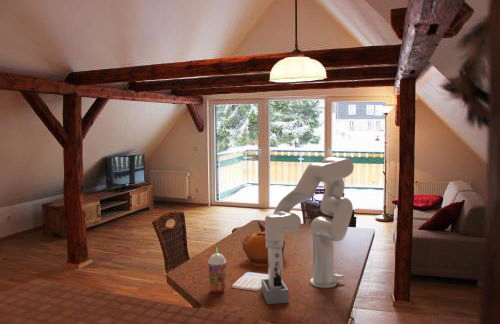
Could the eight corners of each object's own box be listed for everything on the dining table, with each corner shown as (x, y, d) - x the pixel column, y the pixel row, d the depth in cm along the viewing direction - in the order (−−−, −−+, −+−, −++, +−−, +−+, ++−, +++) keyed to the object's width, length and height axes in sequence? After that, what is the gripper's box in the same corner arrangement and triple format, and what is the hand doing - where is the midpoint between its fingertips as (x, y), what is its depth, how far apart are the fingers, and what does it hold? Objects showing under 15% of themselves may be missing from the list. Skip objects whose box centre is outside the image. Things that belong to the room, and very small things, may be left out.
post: (278, 293, 172) (278, 266, 171) (280, 297, 167) (280, 269, 167) (268, 293, 171) (268, 267, 170) (270, 298, 167) (270, 270, 166)
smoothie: (205, 293, 174) (204, 249, 173) (213, 286, 182) (212, 244, 181) (222, 295, 171) (221, 250, 170) (229, 288, 179) (229, 245, 178)
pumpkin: (236, 262, 217) (236, 222, 215) (261, 251, 237) (261, 215, 236) (271, 270, 204) (270, 227, 202) (294, 257, 224) (293, 219, 223)
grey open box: (281, 289, 177) (280, 277, 176) (288, 302, 163) (288, 289, 163) (261, 291, 175) (261, 279, 175) (267, 304, 162) (267, 291, 161)
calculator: (231, 289, 180) (231, 285, 180) (246, 274, 199) (246, 271, 199) (258, 292, 175) (258, 288, 175) (271, 277, 194) (271, 273, 194)
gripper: (287, 248, 160) (288, 288, 161) (278, 237, 177) (279, 274, 178) (269, 249, 159) (270, 290, 160) (262, 238, 176) (263, 275, 177)
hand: (275, 281), depth 169 cm, fingers open, 9 cm apart
